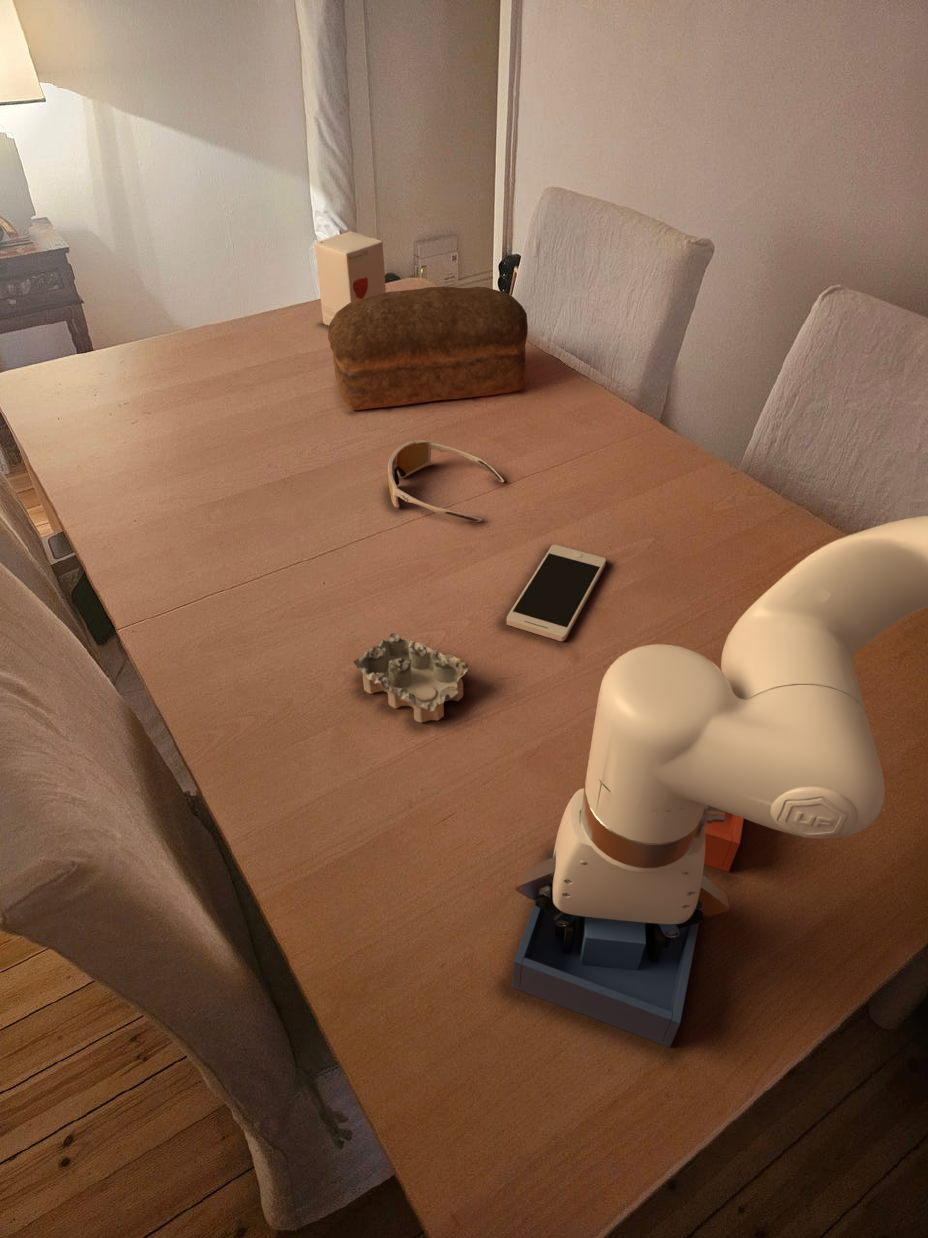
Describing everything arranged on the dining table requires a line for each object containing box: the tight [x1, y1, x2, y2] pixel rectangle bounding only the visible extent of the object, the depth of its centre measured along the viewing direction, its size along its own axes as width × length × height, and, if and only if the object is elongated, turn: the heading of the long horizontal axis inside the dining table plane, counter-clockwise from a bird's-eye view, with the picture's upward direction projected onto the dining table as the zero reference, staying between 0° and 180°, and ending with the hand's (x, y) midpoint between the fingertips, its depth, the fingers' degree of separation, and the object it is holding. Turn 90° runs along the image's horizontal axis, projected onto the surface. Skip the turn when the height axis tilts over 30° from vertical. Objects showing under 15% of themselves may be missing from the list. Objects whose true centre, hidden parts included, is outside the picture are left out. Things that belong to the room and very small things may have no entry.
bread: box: [327, 286, 529, 411], centre depth 132 cm, size 15×32×16 cm, turn 103°
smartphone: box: [506, 544, 607, 642], centre depth 97 cm, size 7×16×1 cm, turn 155°
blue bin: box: [511, 844, 709, 1048], centre depth 64 cm, size 12×12×4 cm
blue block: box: [580, 916, 646, 970], centre depth 64 cm, size 4×4×4 cm
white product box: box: [314, 230, 387, 327], centre depth 151 cm, size 9×9×15 cm
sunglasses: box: [387, 439, 505, 523], centre depth 113 cm, size 14×15×5 cm
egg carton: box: [353, 632, 469, 724], centre depth 85 cm, size 11×8×4 cm
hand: (609, 939), depth 65 cm, fingers open, 6 cm apart
